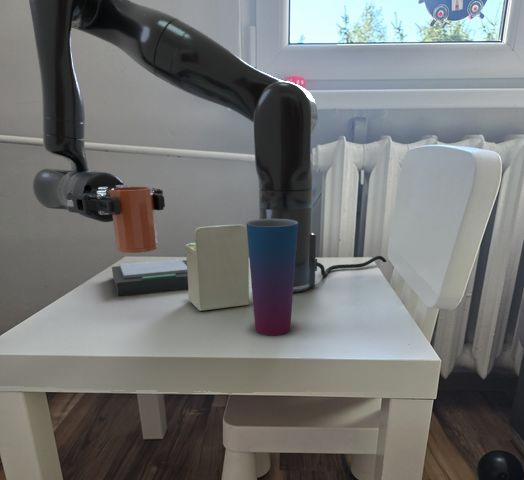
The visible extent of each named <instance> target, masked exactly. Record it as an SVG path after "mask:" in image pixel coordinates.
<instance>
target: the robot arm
mask: <svg viewBox="0 0 524 480" xmlns="http://www.w3.org/2000/svg"><path fill="white" fill-rule="evenodd" d="M28 3H29V4H28V5H29V11H30V16H31V23H32V28H33V35H34V40H35V41H34V42H35V47H36V48H35V50H36V54H37V61H38V69H39V75H40V84H41V101H42V102H41V103H42V144H43V148H44V150H45V151H46V152H47V153H48V154H52V155H55V156H58V157H61V158H64V159H65V160H66V161H67V162H68V163H69V166H70V170H69V169H60V168H50V167H45V168H40V169H39V170H38V171H37V172H36V173H35V175H34V176H33V179H32V183H31V187H32V194H33V196H34V198H35V199H36V201H37V202H38V203H39V205H41V206H42V207H44V208H47V209H52V210H66V211H68V213H69V212H70V213H75V214H78V215H80V216H82V217H84V218H88V219H92V220H95V221H97V222H102V223H110V222H113V219H112V215H119V214H120V207H119V200H118V198H115V197H110V196H109V189H111V188H119V187H129V186H128V185H127V184H124V182H123V181H122V180H121V179H120V178H119V177H118V176H116V175H114V174H112V173H110V172H104V171H93V170H90V169H89V165H88V160H87V159H88V158H87V155H86V147H85V146H86V145H85V139H86V138H85V136H86V135H85V134H86V133H85V132H86V131H85V130H86V128H85V127H86V124H85V123H86V113H85V104H84V98H83V95H82V90H81V87H80V84H79V79H78V76H77V73H76V69H75V65H74V64H75V63H74V58H73V52H72V51H73V50H72V29H74V30H78V31H80V32H83V33H85V34H87V35H90V36H93V37H96V38H98V39H99V40H102V41H105V42H107V43H109V44H111V45H113V46H115V47H117V49H120V50H121V51H123V52H124V54H126V55H127V56H128V57H129V58H131V59H132V60H133V61H134V62H135V63H137V64H138V65H139V66H141V67H142V68H143V69H145V70H146V71H147V72H148V73H150V74H152V75H154V76H155V77H157V78H158V79H159V80H160V79H161V80H162V81H164V82H166V83H167V84H169V85H171V86H172V87H174V88H175V89H179V90H181V91H182V92H185V93H186V94H189V95H191V96H194V97H196V98H199V99H201V100H204V101H207V102H210V103H212V104H216V105H219V106H222V107H225V108H226V109H229V110H231V111H234V112H236V113H237V114H239V115H240V116H242V117H243V118H245V119H247V120H249V121H251V122H252V123H253V147H254V163H255V165H254V166H255V172H256V174H257V178H258V207H259V208H258V212H259V213H258V214H259V219H289V220H295V221H297V222H298V231H297V245H296V258H295V272H294V285H293V293H300V292H303V291H308V290H309V289H314V288H315V287H316V272H317V271H318V268H319V269H320V274H321V276H322V277H324V278H325V277H327V276H328V275H329V273H330V272H331V271H333V270H336V269H356V268H357V269H358V268H364V267H366V266H368V265H370V264H372V263H373V262H375V261H377V260H380V261H382V263H387V262H388V261H387V259H386V258H385V257H384V256H383V255H375V256H373V257H371V258H370V259H369V260H367V261H365V262H362V263H350V264H347V263H346V264H333V265H331V266H328V268H325V266H324V265H323V264H322V263H320V262H318V258H317V235H316V234H315V233H314V232H313V194H314V193H313V192H314V172H313V168H312V167H313V166H312V155H311V153H312V150H311V149H312V134H313V133H314V131H315V129H316V127H317V124H318V120H319V119H318V117H319V116H318V114H319V112H318V108H317V104H316V101H315V99H314V98H313V96H312V94H311V93H310V92H309V91H308V90H307V89H306V88H304V87H302V86H300V85H299V84H295V83H294V82H290V81H285V80H281V79H278V78H276V77H273V76H271V75H270V74H267V73H265V72H263V71H260V70H258V69H256V68H255V67H253V66H251V65H249V64H248V63H247V62H245V61H243V60H242V59H241V58H240V57H238V56H237V55H236V54H234V53H233V52H232V51H230V50H229V49H228V48H226V47H224V46H223V45H222V44H220V43H218V42H217V41H216V40H214V39H213V38H212V37H210V36H208V35H206V33H204V32H202V31H200V30H199V29H197V28H195V27H193V26H192V25H190V24H188V23H186V22H185V21H182V20H181V19H179V18H178V17H175V16H173V15H171V14H169V13H166V12H163V11H162V10H158V9H155V8H152V7H149V6H145V5H141V4H138V3H136V2H133V1H131V0H28ZM151 188H152V191H153V201H154V211H163V210H164V209H165V207H166V204H165V196H164V190H163V189H160V188H155V187H151Z"/></svg>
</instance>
